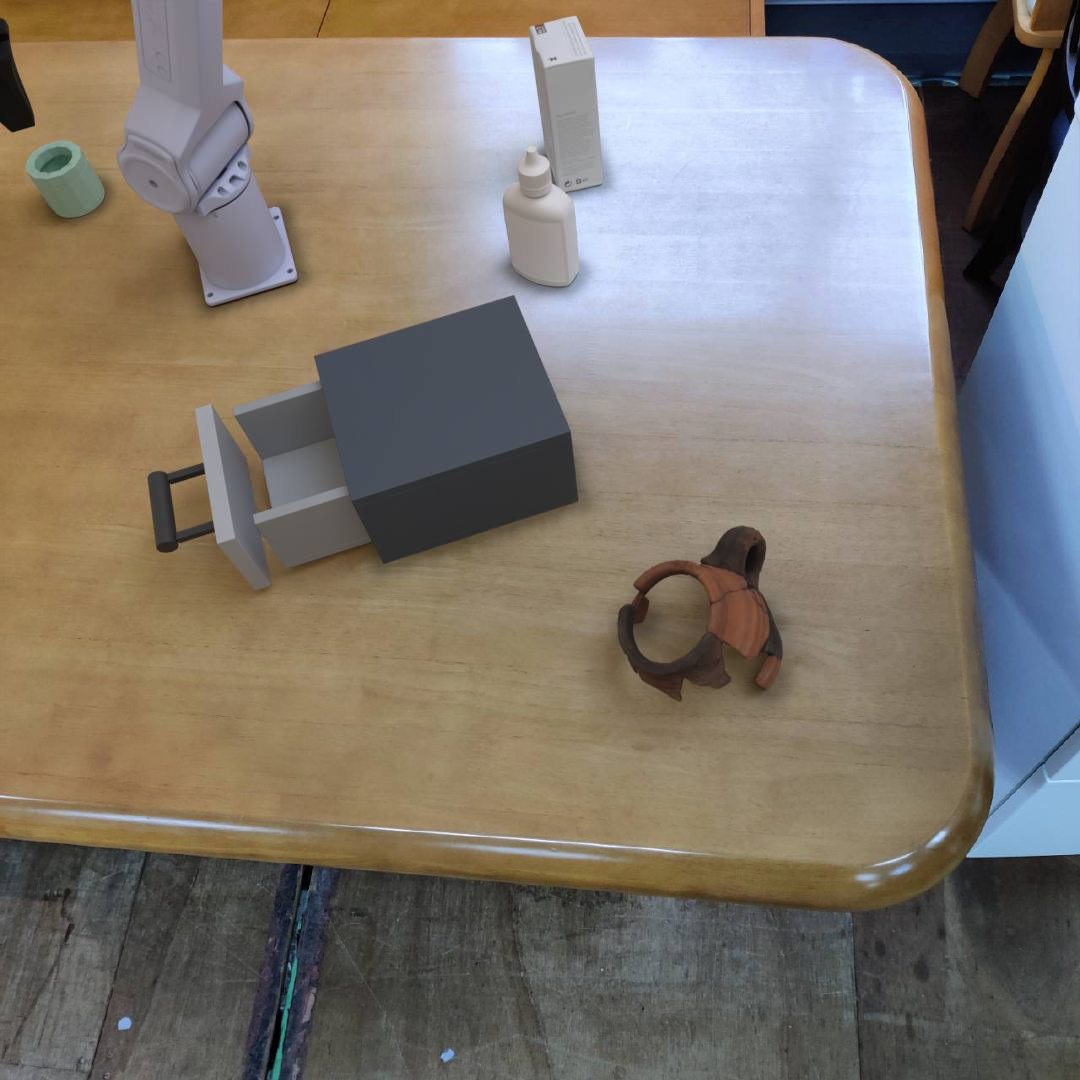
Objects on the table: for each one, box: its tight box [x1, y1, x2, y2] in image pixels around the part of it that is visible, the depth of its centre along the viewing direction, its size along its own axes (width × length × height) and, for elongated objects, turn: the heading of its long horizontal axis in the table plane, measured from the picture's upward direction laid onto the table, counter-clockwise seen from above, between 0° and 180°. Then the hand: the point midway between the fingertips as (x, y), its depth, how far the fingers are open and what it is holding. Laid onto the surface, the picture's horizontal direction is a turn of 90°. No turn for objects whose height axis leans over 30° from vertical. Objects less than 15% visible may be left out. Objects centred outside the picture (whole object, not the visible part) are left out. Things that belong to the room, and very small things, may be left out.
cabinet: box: [313, 294, 579, 564], centre depth 67 cm, size 15×13×9 cm
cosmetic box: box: [528, 15, 604, 193], centre depth 80 cm, size 6×4×12 cm
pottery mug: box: [616, 525, 784, 703], centre depth 60 cm, size 12×10×8 cm
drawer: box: [146, 380, 372, 591], centre depth 66 cm, size 18×11×7 cm, turn 108°
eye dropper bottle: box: [502, 145, 581, 287], centre depth 74 cm, size 4×6×12 cm
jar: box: [25, 140, 106, 219], centre depth 87 cm, size 5×5×4 cm
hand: (22, 124), depth 79 cm, fingers closed
